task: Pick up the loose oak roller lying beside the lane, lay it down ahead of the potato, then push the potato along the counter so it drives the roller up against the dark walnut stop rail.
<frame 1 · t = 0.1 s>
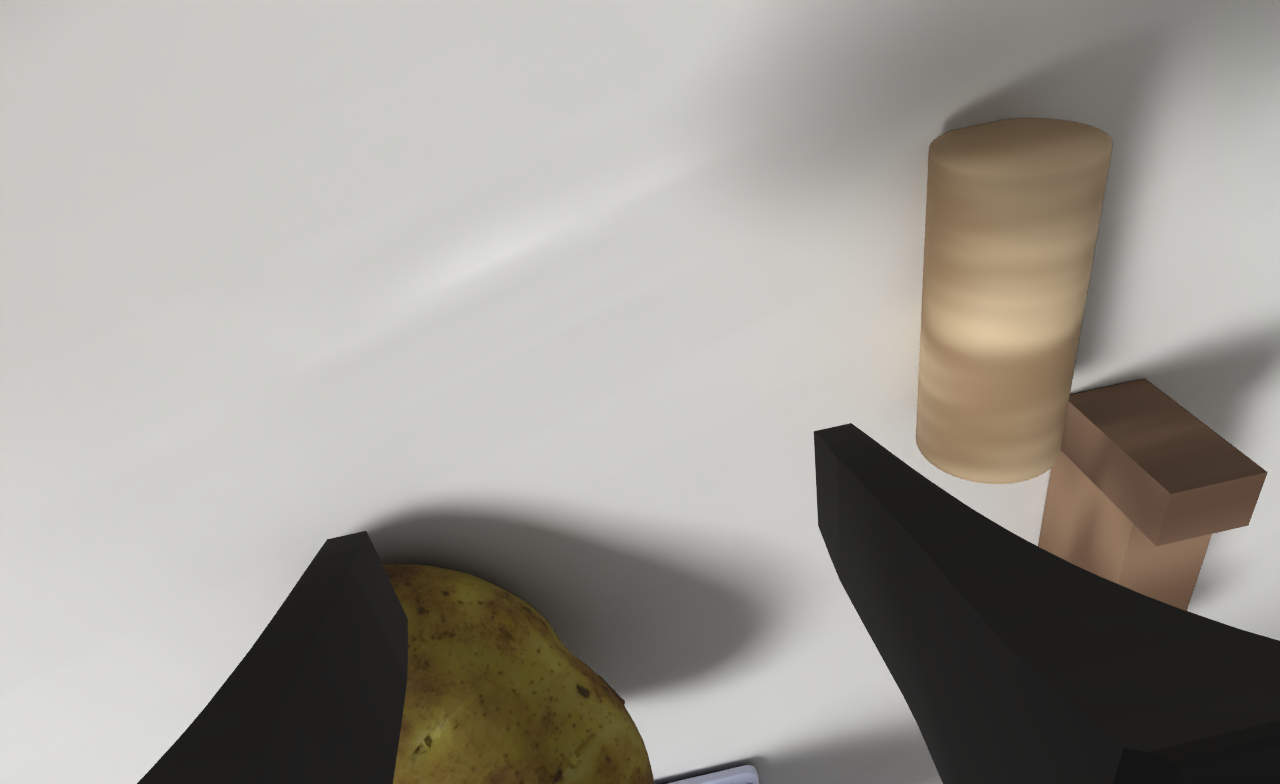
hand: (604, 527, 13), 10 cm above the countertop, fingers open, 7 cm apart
stop rail: (1075, 531, 30), on the countertop
potato: (480, 631, 28), on the countertop
roller: (965, 278, 23), on the countertop
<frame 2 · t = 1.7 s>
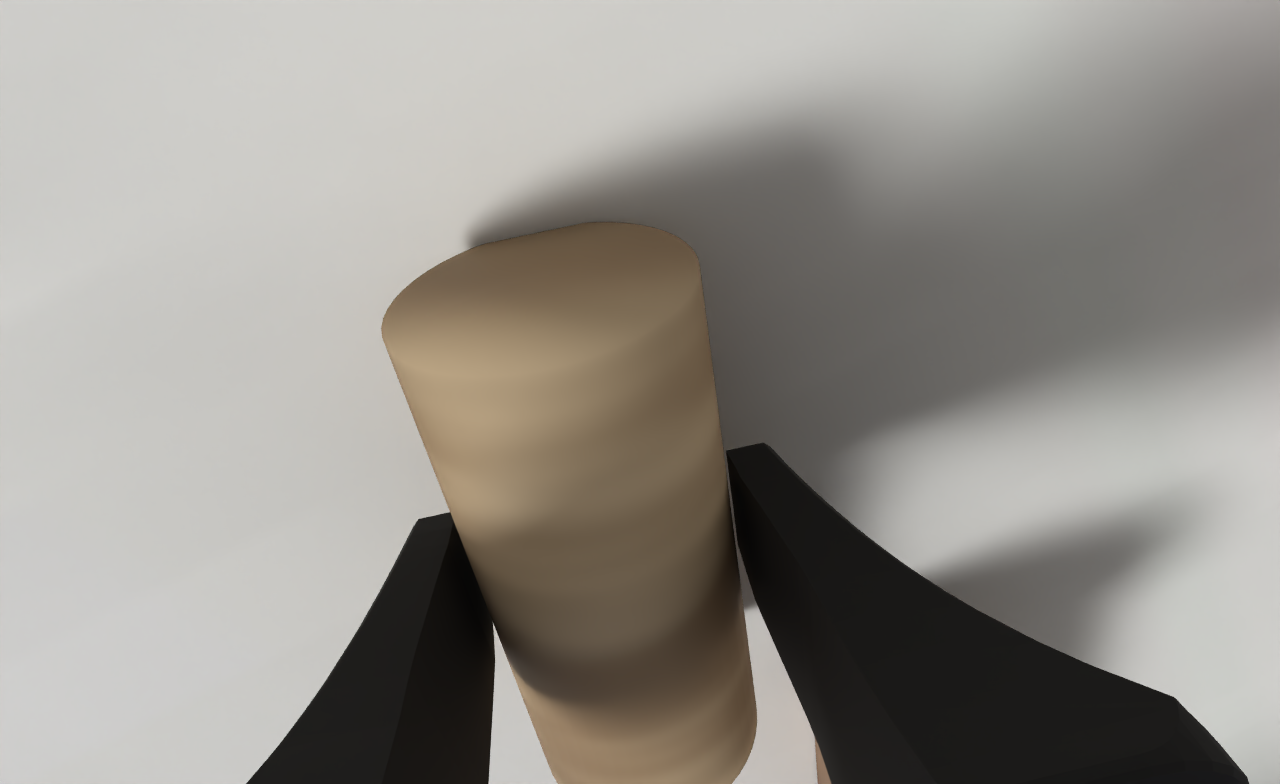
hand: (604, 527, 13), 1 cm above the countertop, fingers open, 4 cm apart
stop rail: (871, 775, 21), on the countertop
roller: (597, 465, 14), on the countertop
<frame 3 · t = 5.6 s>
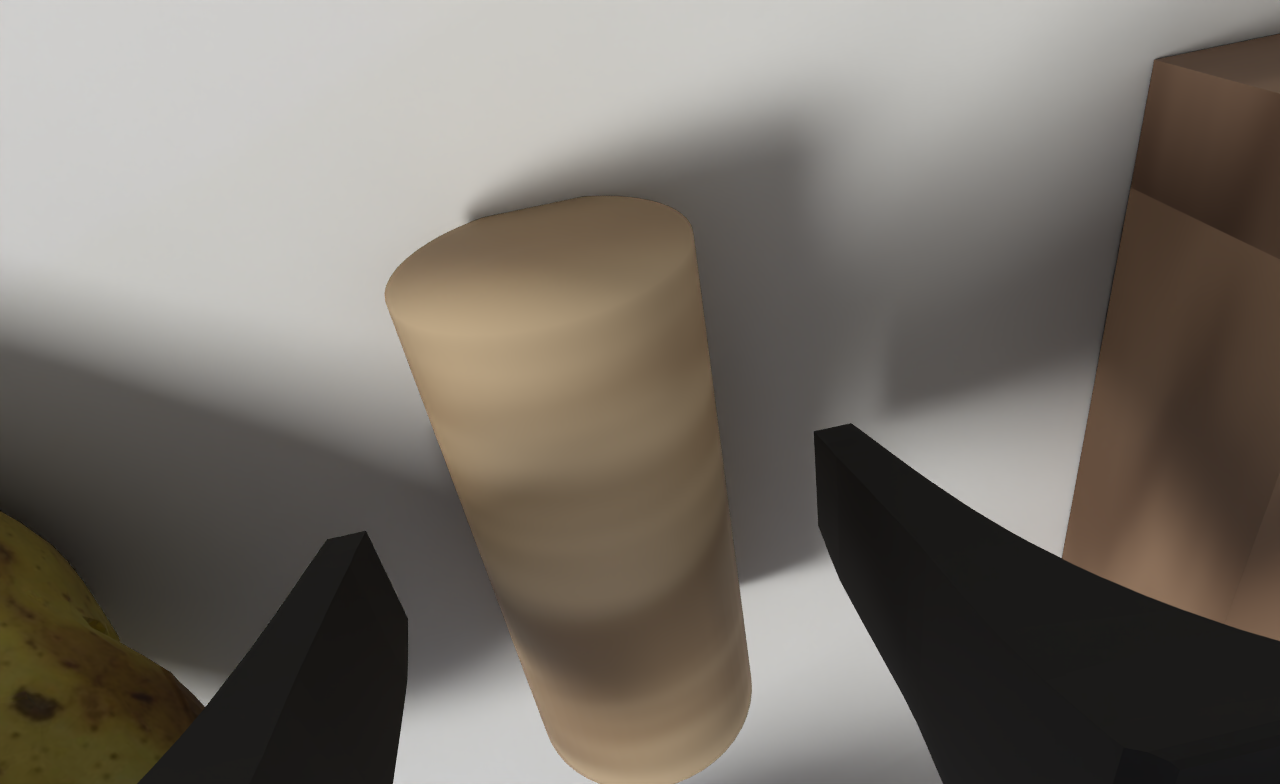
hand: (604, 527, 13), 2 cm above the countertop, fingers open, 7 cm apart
stop rail: (1157, 394, 16), on the countertop
roller: (594, 439, 14), on the countertop
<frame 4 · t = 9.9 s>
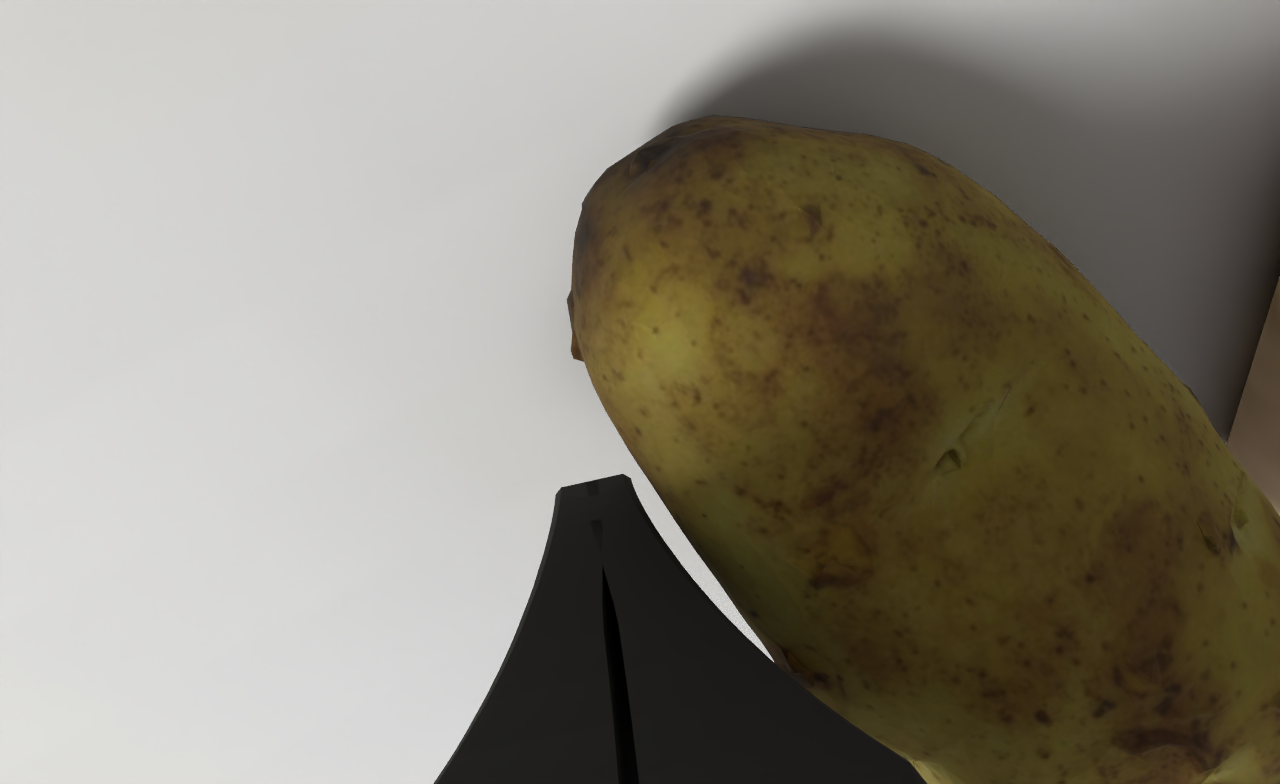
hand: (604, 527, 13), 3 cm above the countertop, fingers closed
potato: (857, 357, 16), on the countertop, touching gripper
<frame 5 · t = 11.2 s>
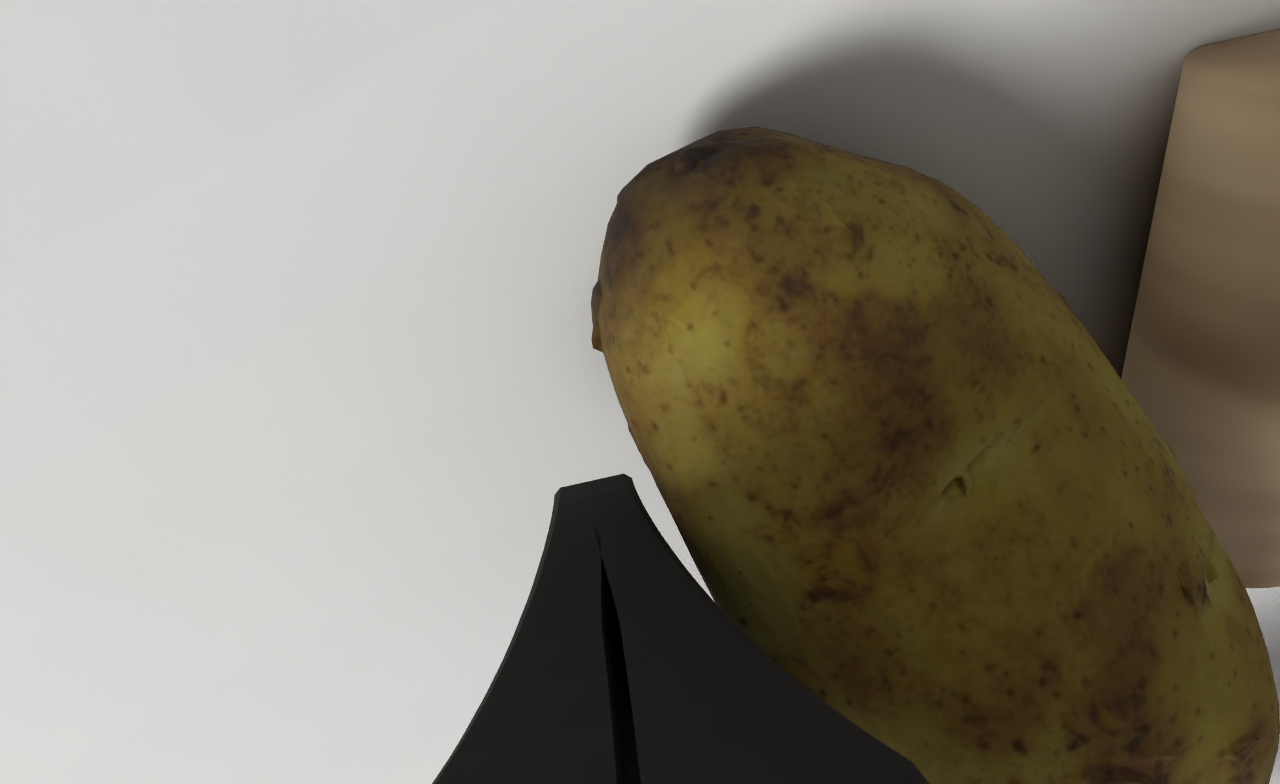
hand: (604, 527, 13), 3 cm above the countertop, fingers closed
potato: (849, 384, 16), on the countertop, touching gripper
roller: (1153, 346, 14), point 2 cm above the countertop, tilted 87°
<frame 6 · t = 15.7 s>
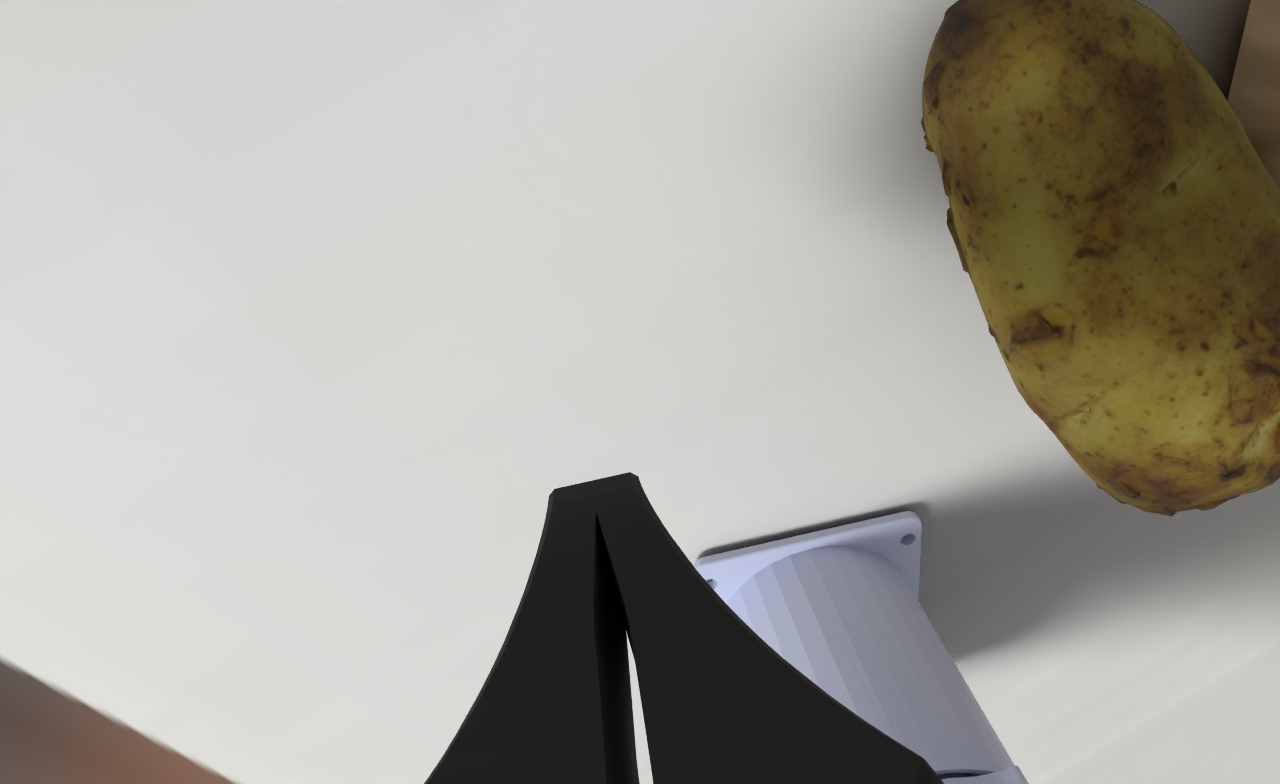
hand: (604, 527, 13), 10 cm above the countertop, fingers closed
potato: (1034, 195, 22), on the countertop
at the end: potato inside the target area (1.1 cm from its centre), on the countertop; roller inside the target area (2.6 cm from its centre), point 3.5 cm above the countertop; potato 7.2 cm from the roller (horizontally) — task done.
